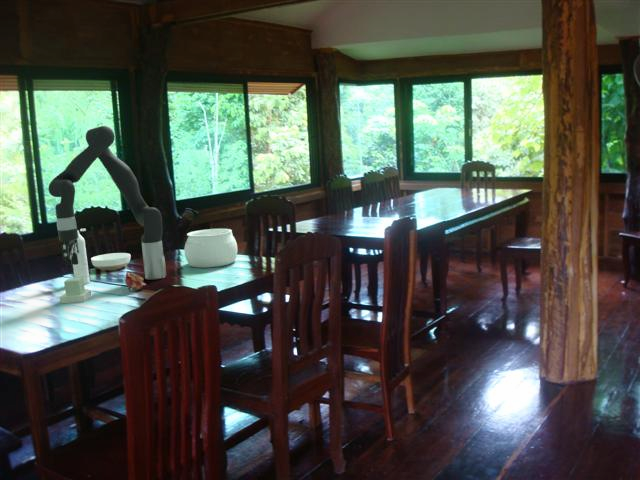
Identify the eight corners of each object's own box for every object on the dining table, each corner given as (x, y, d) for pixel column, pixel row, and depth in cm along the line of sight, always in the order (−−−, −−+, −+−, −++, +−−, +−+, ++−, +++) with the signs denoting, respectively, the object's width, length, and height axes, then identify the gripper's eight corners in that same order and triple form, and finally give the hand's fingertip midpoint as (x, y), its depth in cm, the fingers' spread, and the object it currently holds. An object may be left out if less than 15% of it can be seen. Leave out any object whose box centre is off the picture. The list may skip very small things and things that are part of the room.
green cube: (84, 291, 290) (83, 277, 289) (80, 294, 284) (78, 280, 283) (70, 292, 289) (68, 278, 288) (65, 295, 283) (64, 281, 282)
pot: (214, 256, 366) (211, 226, 363) (251, 259, 350) (248, 228, 347) (172, 267, 342) (169, 235, 339) (210, 271, 327) (207, 238, 324)
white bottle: (82, 285, 314) (76, 231, 310) (72, 284, 317) (65, 231, 313) (96, 280, 322) (90, 228, 317) (86, 280, 324) (79, 228, 320)
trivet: (91, 295, 292) (90, 289, 292) (84, 301, 282) (84, 295, 282) (67, 297, 292) (67, 291, 291) (60, 303, 282) (59, 297, 281)
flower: (121, 290, 291) (131, 274, 290) (117, 282, 298) (126, 267, 298) (141, 299, 296) (151, 283, 296) (136, 290, 304) (145, 275, 304)
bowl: (139, 265, 354) (138, 253, 353) (110, 273, 338) (108, 261, 337) (114, 263, 364) (112, 252, 363) (84, 271, 348) (82, 259, 347)
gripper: (71, 230, 275) (76, 269, 278) (81, 224, 289) (86, 262, 292) (52, 231, 274) (58, 271, 277) (63, 226, 288) (68, 263, 291)
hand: (72, 266), depth 284 cm, fingers open, 8 cm apart
